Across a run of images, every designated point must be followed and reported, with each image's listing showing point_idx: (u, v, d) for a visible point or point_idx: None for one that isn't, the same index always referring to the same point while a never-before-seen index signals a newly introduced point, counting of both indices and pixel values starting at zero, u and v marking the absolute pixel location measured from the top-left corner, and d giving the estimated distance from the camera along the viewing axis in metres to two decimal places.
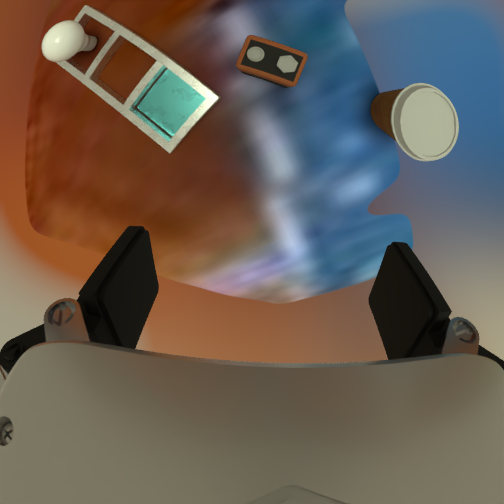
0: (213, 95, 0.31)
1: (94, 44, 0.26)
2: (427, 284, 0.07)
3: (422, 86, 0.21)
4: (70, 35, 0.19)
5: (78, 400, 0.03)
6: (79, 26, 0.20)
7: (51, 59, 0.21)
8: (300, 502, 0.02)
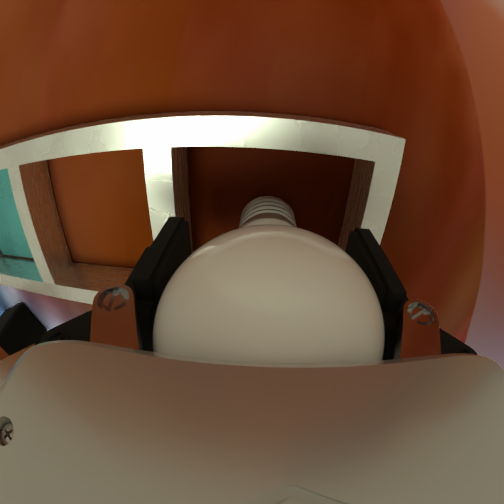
0: None
1: None
2: (383, 266, 0.08)
3: None
4: None
5: (78, 400, 0.03)
6: None
7: (215, 314, 0.05)
8: (300, 502, 0.02)
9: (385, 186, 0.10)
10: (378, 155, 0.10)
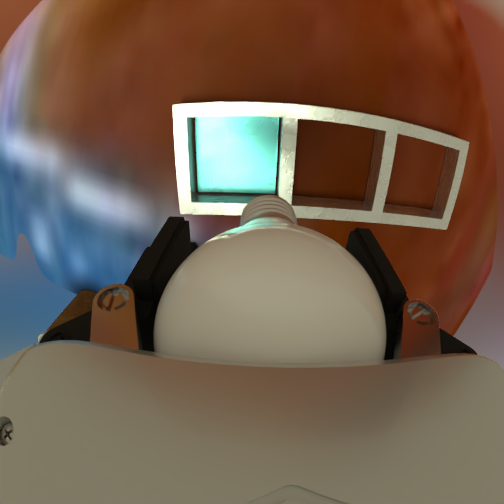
0: (187, 212, 0.25)
1: None
2: (383, 266, 0.08)
3: None
4: None
5: (78, 400, 0.03)
6: None
7: (216, 312, 0.05)
8: (300, 502, 0.02)
9: (462, 160, 0.21)
10: (460, 148, 0.20)
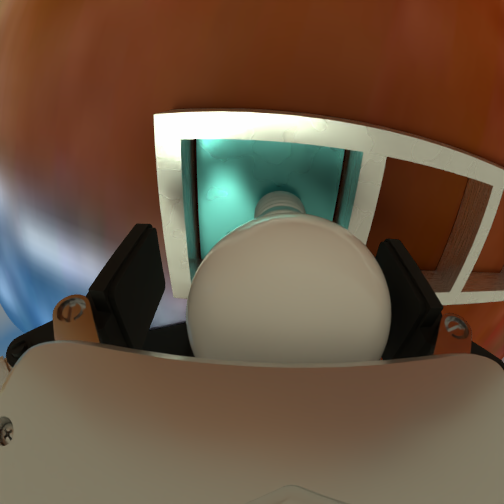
0: (185, 296, 0.16)
1: None
2: (419, 280, 0.07)
3: None
4: None
5: (78, 400, 0.03)
6: None
7: (253, 283, 0.06)
8: (300, 502, 0.02)
9: None
10: None
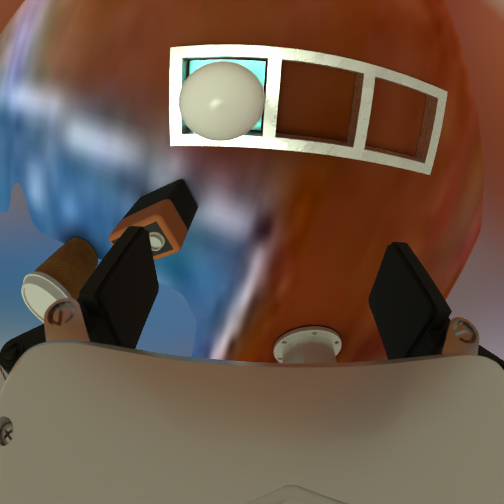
0: (177, 143, 0.25)
1: None
2: (427, 284, 0.07)
3: None
4: (187, 124, 0.18)
5: (78, 400, 0.03)
6: None
7: (202, 68, 0.15)
8: (300, 502, 0.02)
9: (441, 108, 0.21)
10: (439, 96, 0.20)
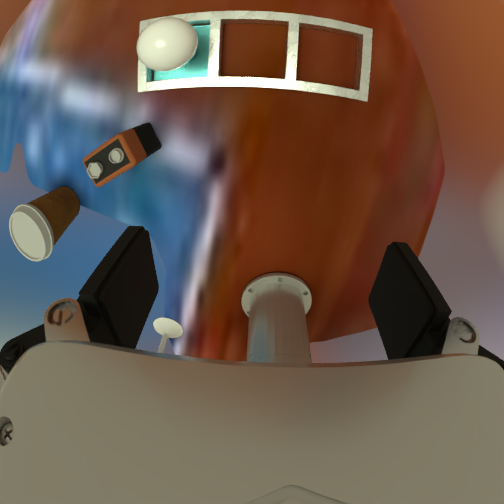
0: (143, 89, 0.28)
1: None
2: (427, 284, 0.07)
3: (47, 248, 0.31)
4: (141, 59, 0.20)
5: (78, 400, 0.03)
6: (155, 70, 0.22)
7: None
8: (300, 502, 0.02)
9: (368, 42, 0.23)
10: (363, 33, 0.23)
